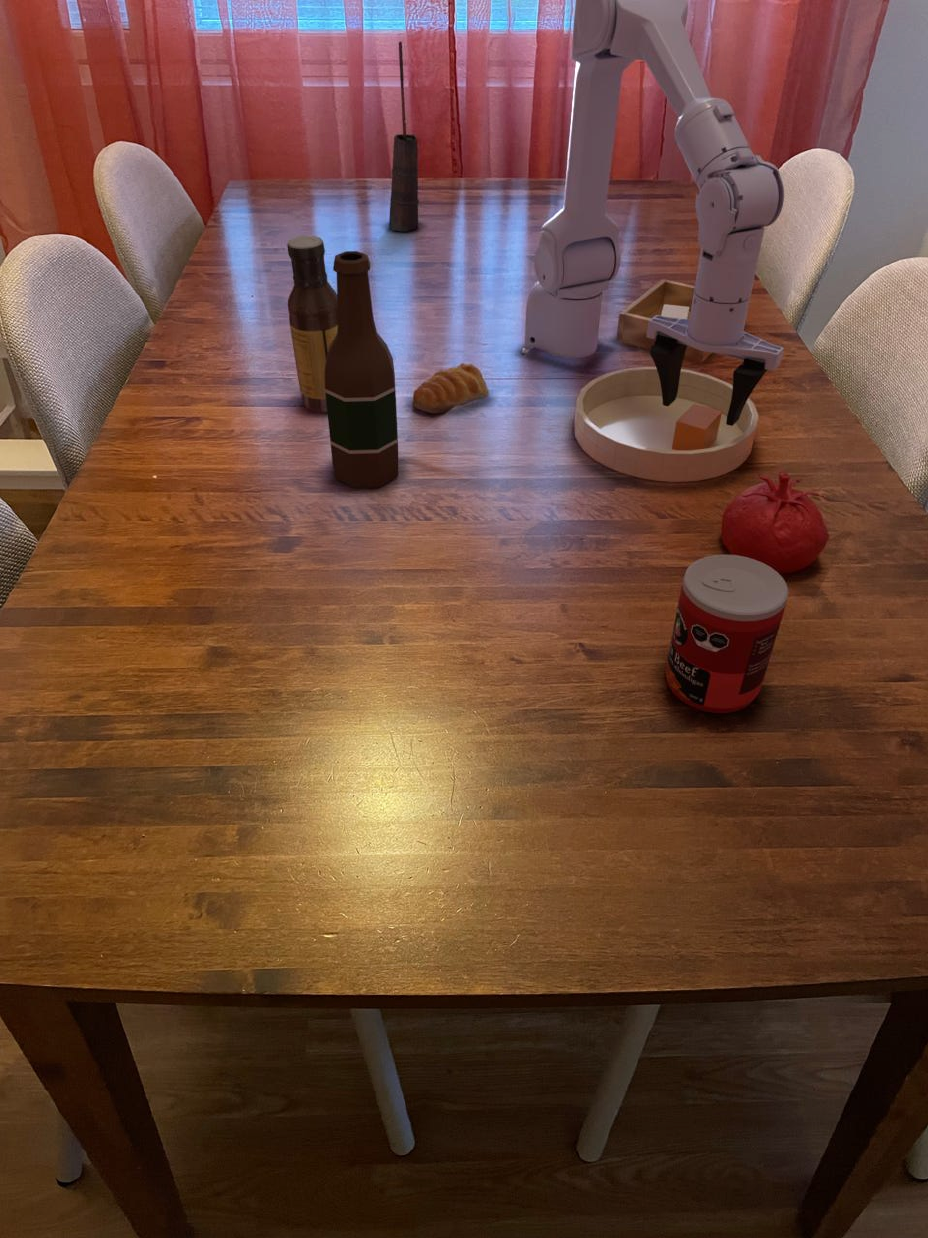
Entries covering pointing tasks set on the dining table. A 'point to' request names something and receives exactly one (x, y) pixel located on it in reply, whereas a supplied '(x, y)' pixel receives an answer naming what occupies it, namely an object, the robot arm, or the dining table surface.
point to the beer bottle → (360, 384)
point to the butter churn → (404, 174)
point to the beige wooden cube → (675, 311)
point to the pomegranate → (775, 525)
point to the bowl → (659, 425)
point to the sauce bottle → (311, 318)
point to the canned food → (724, 632)
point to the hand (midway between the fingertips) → (700, 411)
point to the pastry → (450, 389)
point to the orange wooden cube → (696, 428)
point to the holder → (650, 305)
